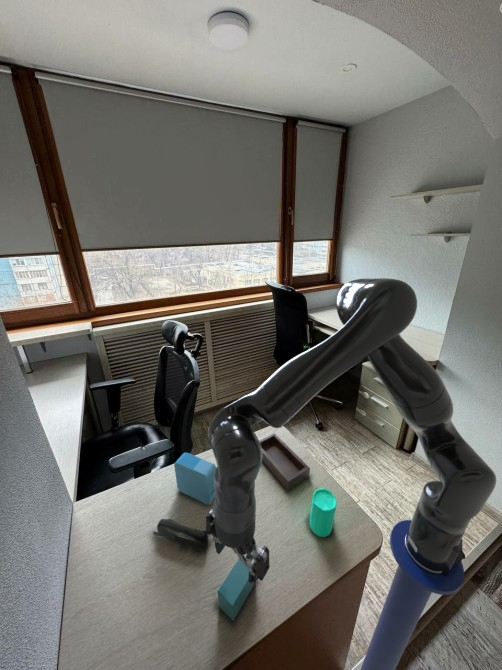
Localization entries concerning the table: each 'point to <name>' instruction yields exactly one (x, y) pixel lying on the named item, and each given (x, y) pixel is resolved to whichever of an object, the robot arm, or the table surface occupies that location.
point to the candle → (322, 512)
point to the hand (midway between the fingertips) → (236, 563)
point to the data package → (195, 477)
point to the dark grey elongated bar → (182, 534)
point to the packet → (234, 590)
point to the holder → (283, 461)
